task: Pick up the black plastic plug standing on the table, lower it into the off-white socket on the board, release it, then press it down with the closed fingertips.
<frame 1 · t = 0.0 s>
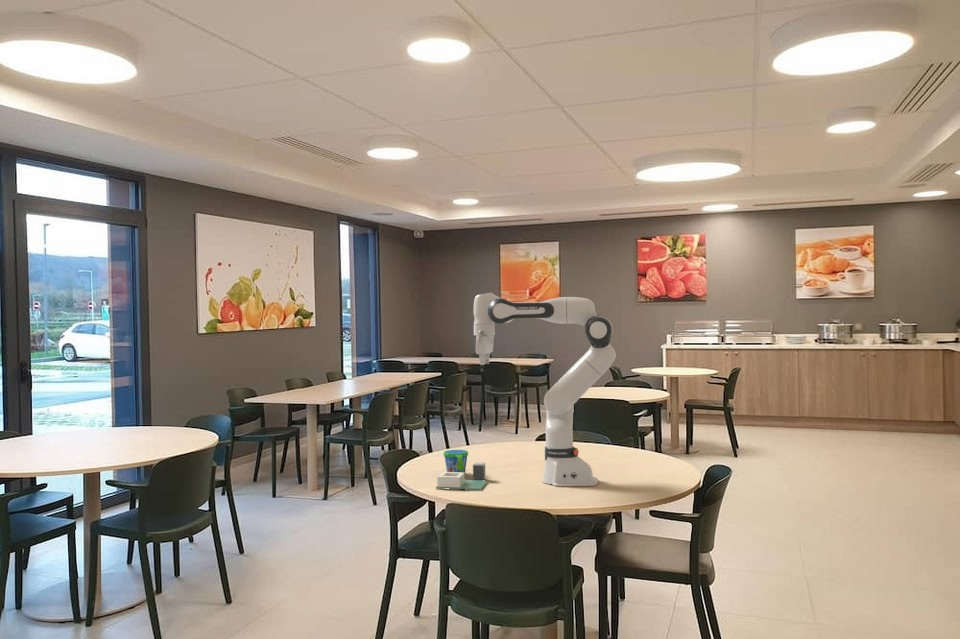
hand: (484, 364, 285), 48 cm above the table, tool pointing down, fingers open, 8 cm apart
header board: (462, 485, 273), on the table
snack cup: (456, 475, 293), on the table
plug: (479, 480, 283), on the table
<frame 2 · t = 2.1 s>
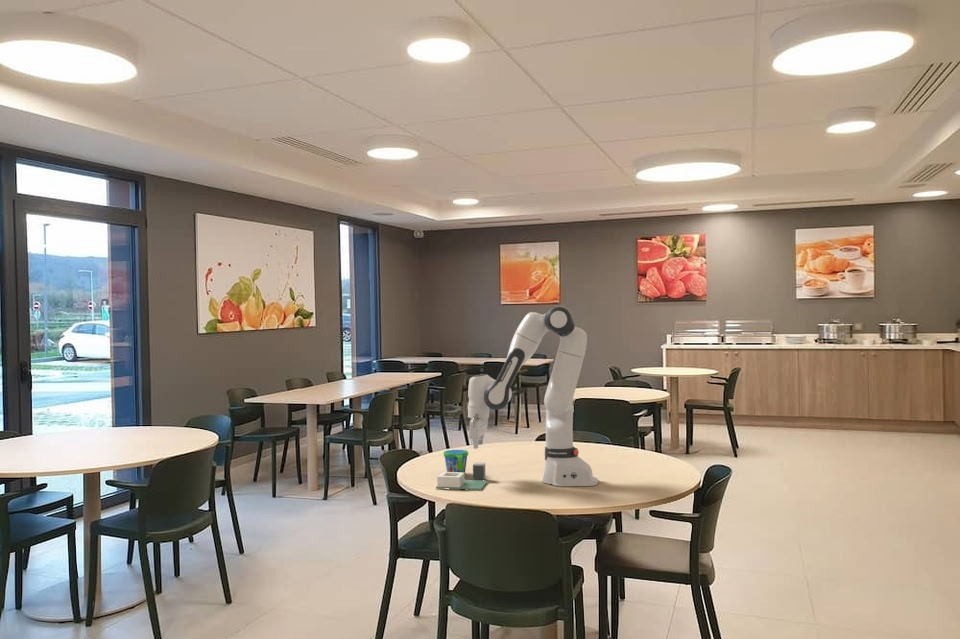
hand: (478, 446, 283), 14 cm above the table, tool pointing down, fingers open, 8 cm apart
nothing on the table moved.
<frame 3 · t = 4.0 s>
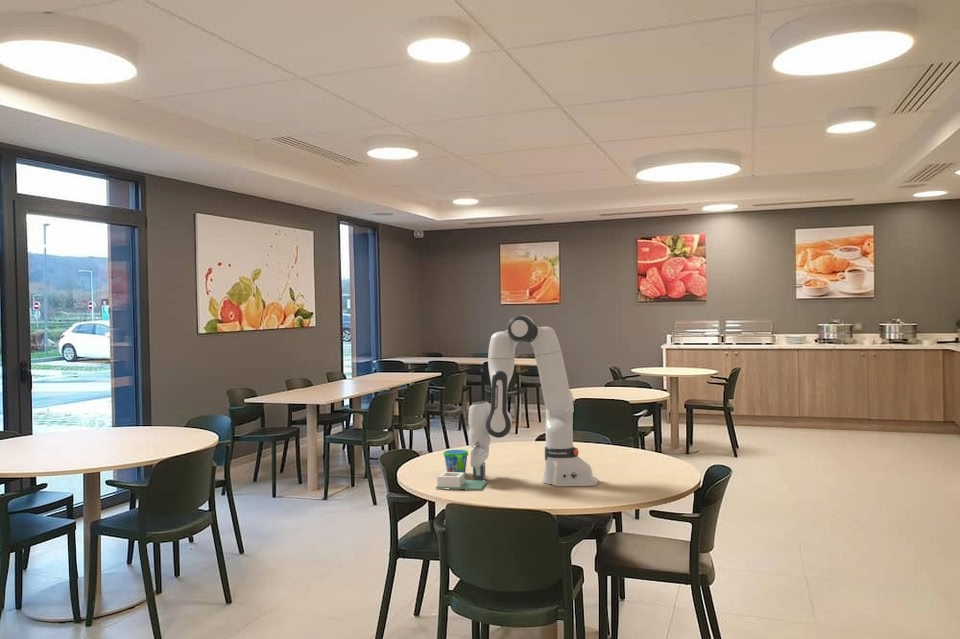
hand: (479, 473, 283), 3 cm above the table, tool pointing down, fingers closed on plug, 4 cm apart
plug: (479, 480, 283), on the table, touching gripper
everything else where it was.
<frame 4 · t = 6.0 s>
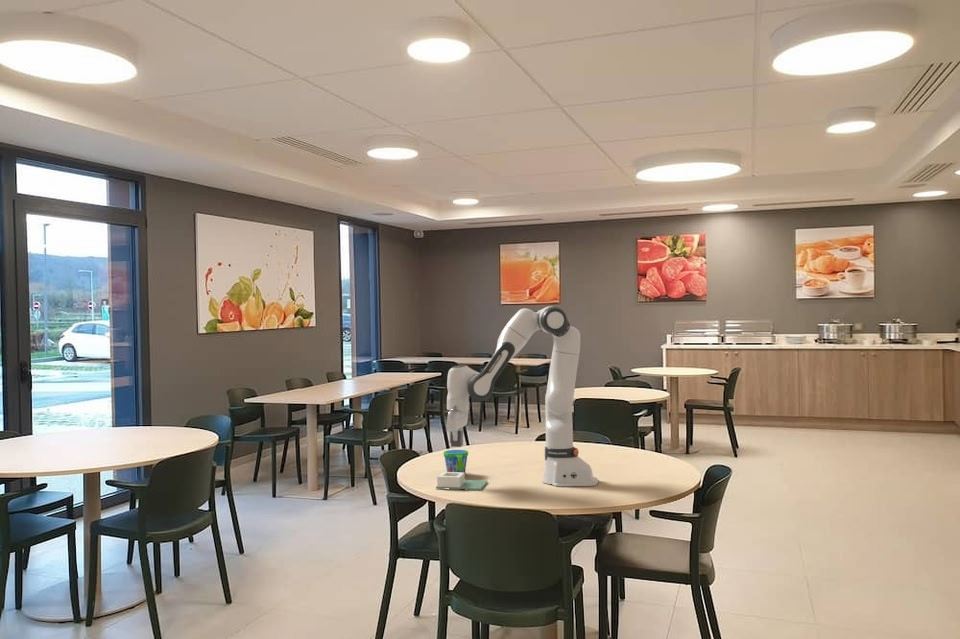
hand: (457, 439, 275), 18 cm above the table, tool pointing down, fingers closed on plug, 4 cm apart
plug: (457, 445, 275), point 16 cm above the table, touching gripper
everything else where it was.
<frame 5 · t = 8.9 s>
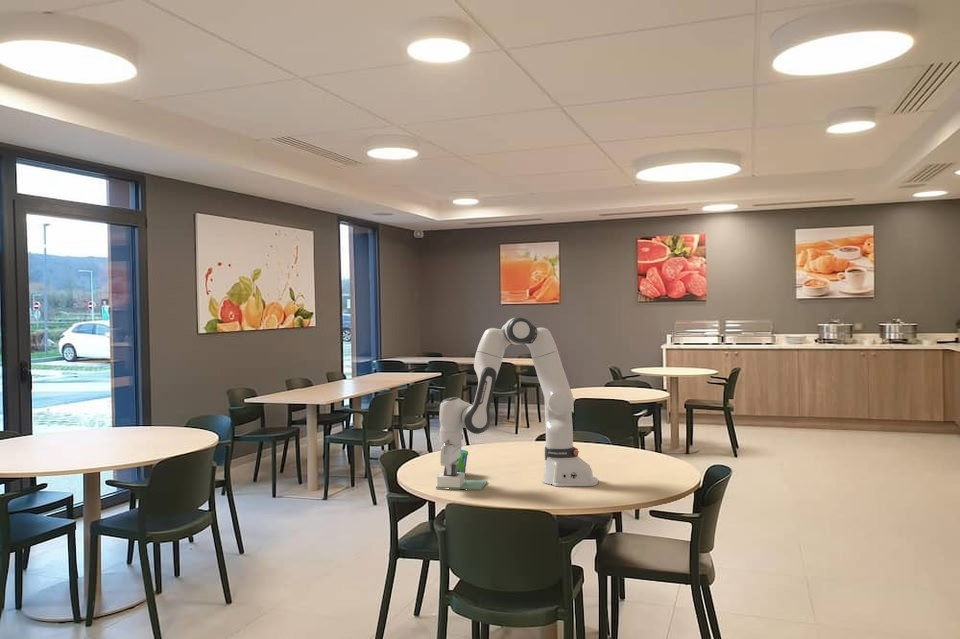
hand: (451, 472, 272), 5 cm above the table, tool pointing down, fingers closed on plug, 4 cm apart
plug: (450, 478, 272), point 3 cm above the table, tilted 10°, touching gripper, header board
everything else where it was.
when the fingers open (5 cm above the table, at t = 9.3 s): plug drops 2 cm, resting on header board.
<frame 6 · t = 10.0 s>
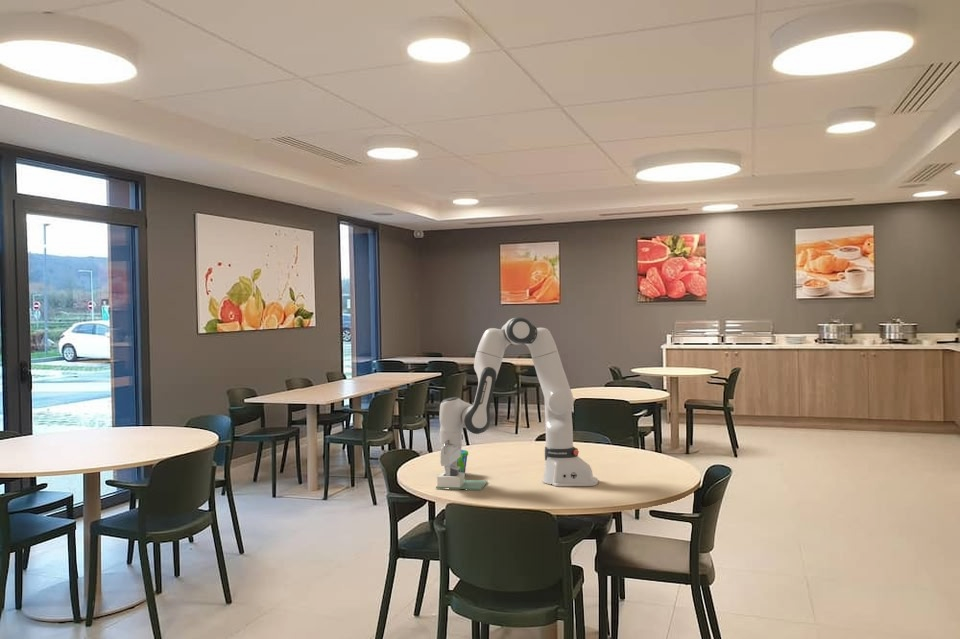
hand: (451, 473, 272), 5 cm above the table, tool pointing down, fingers open, 8 cm apart
plug: (449, 482, 272), point 1 cm above the table, tilted 17°, touching header board
everything else where it was.
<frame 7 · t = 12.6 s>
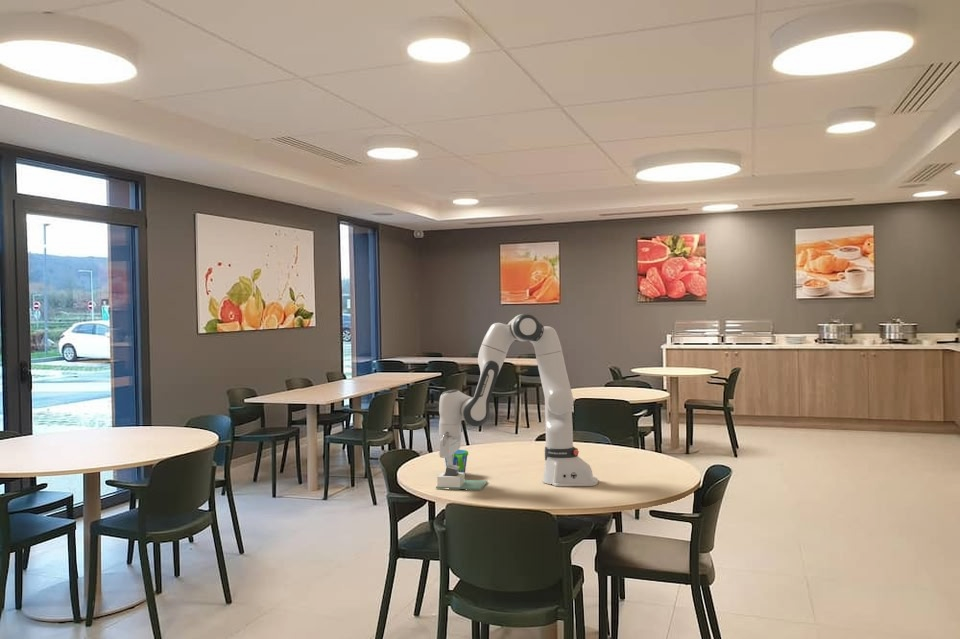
hand: (449, 465, 272), 9 cm above the table, tool pointing down, fingers closed, pressing on plug
plug: (450, 483, 272), point 1 cm above the table, tilted 14°, touching gripper, header board
everything else where it was.
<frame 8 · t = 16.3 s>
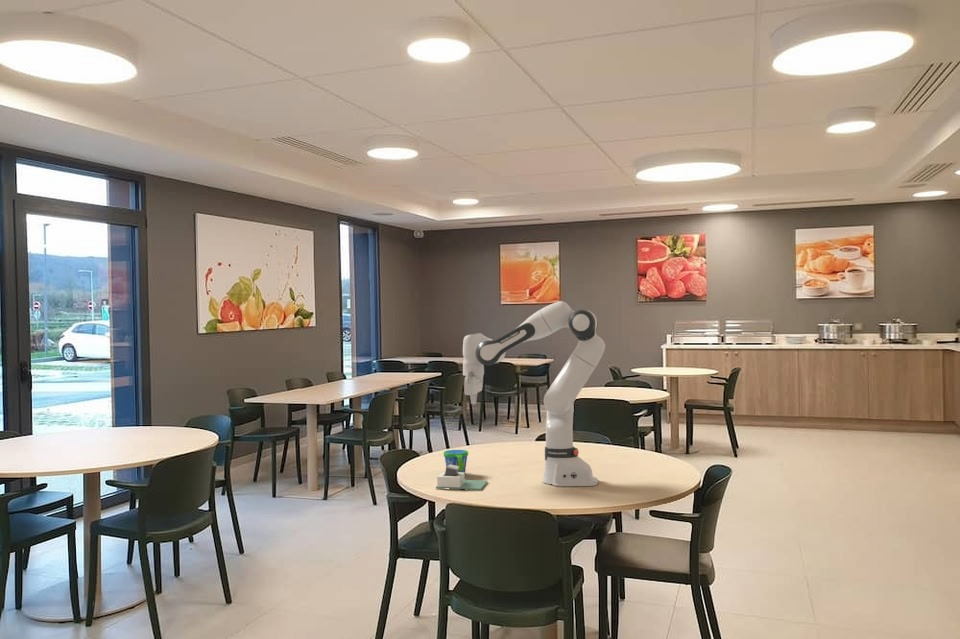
hand: (473, 404, 288), 31 cm above the table, tool pointing down, fingers closed
plug: (450, 483, 272), point 1 cm above the table, tilted 12°, touching header board
everything else where it was.
at the end: plug 0.5 cm from the target spot on the header board, point 1.2 cm above the header board's base; plug tilted 12°; the gripper is holding nothing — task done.
